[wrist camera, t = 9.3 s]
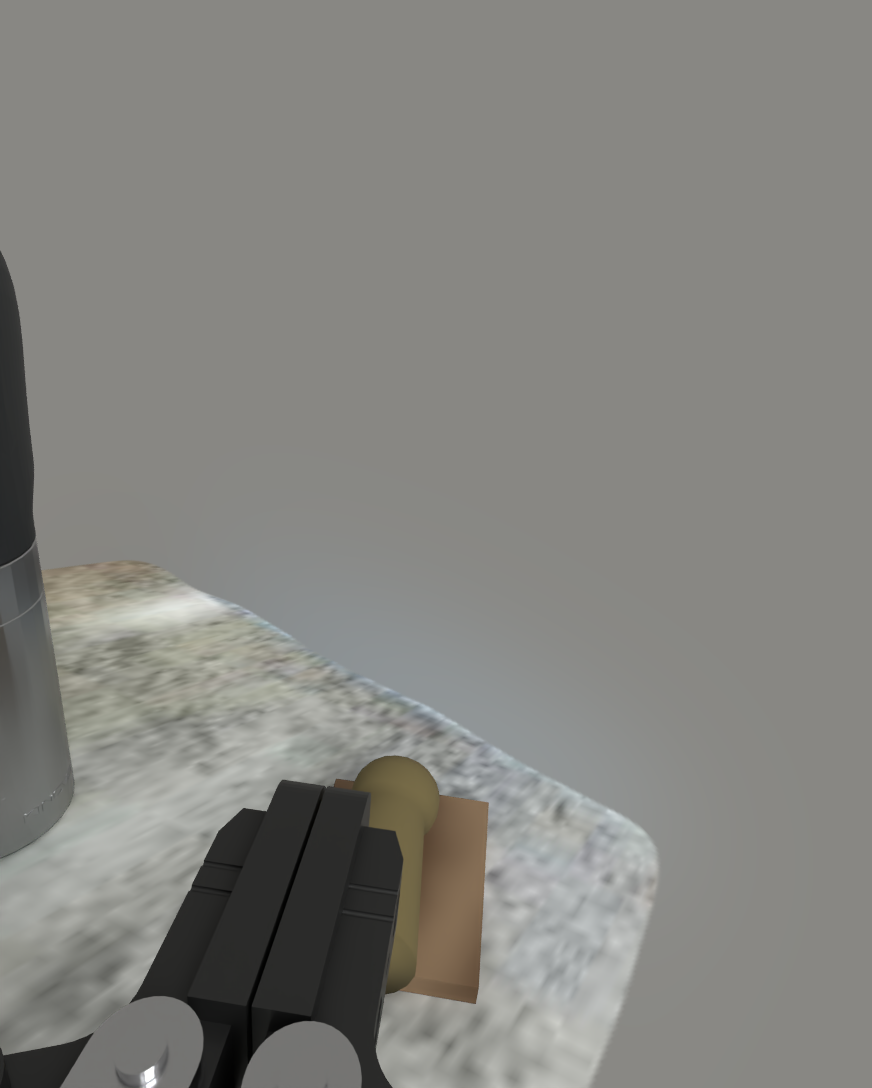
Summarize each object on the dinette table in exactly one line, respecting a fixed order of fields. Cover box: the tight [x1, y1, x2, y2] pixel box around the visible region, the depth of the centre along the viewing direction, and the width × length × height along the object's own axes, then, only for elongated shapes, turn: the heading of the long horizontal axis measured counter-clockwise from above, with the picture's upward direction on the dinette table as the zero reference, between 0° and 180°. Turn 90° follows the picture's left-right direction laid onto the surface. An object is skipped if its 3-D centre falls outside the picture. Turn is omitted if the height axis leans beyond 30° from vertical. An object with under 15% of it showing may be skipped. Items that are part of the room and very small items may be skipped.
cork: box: [352, 756, 440, 994], centre depth 36 cm, size 6×6×11 cm
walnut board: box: [334, 779, 489, 1004], centre depth 38 cm, size 10×12×1 cm
